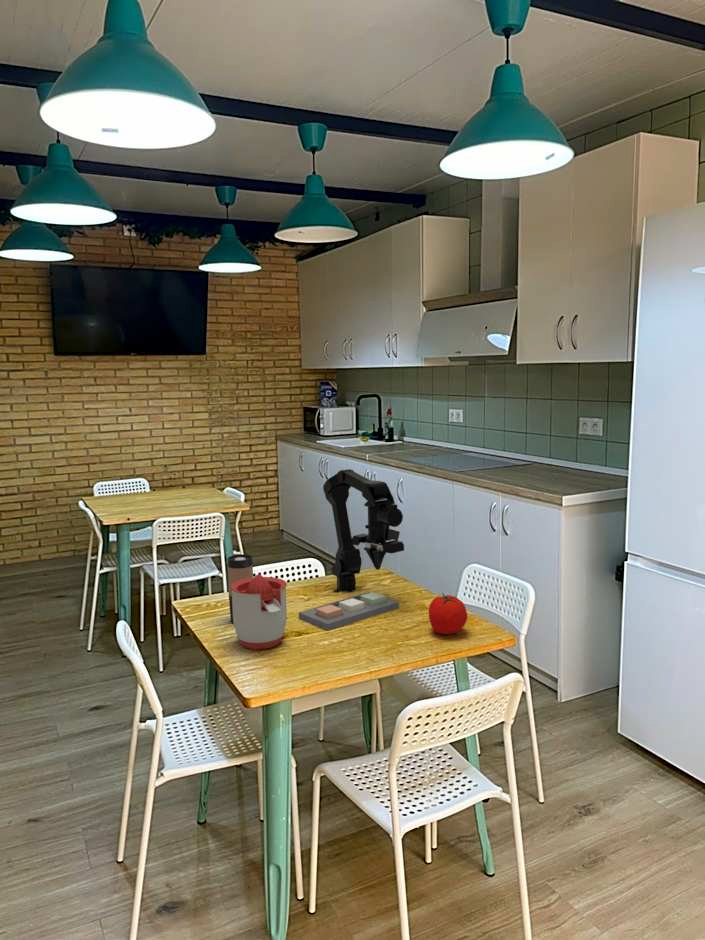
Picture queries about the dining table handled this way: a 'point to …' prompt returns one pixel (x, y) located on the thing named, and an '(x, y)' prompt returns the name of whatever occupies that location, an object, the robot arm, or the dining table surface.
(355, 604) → the key offwhite
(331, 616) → the key terracotta
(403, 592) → the dining table surface
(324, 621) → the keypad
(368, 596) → the key sage
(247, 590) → the citrus juicer
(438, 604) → the tomato
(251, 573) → the travel mug
